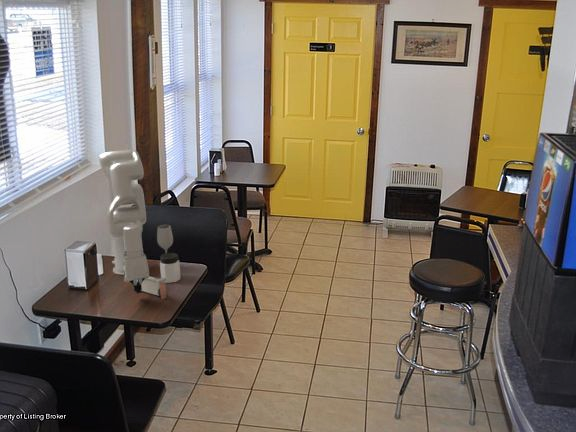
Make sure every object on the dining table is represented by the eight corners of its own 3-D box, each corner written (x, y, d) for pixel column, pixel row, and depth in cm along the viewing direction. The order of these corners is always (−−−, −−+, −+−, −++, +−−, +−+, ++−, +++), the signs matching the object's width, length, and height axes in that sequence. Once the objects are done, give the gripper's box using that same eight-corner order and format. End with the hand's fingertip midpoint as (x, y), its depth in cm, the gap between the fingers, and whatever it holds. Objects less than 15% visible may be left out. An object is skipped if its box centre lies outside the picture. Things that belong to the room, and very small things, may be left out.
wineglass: (156, 267, 314) (152, 226, 307) (169, 262, 319) (166, 223, 312) (165, 271, 309) (161, 230, 302) (178, 266, 314) (175, 226, 307)
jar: (183, 280, 298) (181, 256, 294) (168, 284, 293) (165, 260, 289) (173, 274, 304) (171, 251, 301) (158, 279, 300) (156, 255, 296)
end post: (158, 298, 279) (156, 279, 276) (163, 295, 282) (162, 277, 279) (163, 300, 277) (161, 281, 275) (169, 297, 280) (167, 279, 277)
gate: (134, 289, 288) (132, 273, 286) (139, 287, 291) (137, 270, 288) (160, 297, 280) (158, 280, 277) (165, 294, 282) (163, 277, 280)
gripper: (118, 259, 266) (123, 299, 272) (153, 252, 273) (157, 291, 279) (114, 253, 273) (119, 292, 278) (148, 247, 279) (152, 285, 285)
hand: (138, 292), depth 278 cm, fingers closed
